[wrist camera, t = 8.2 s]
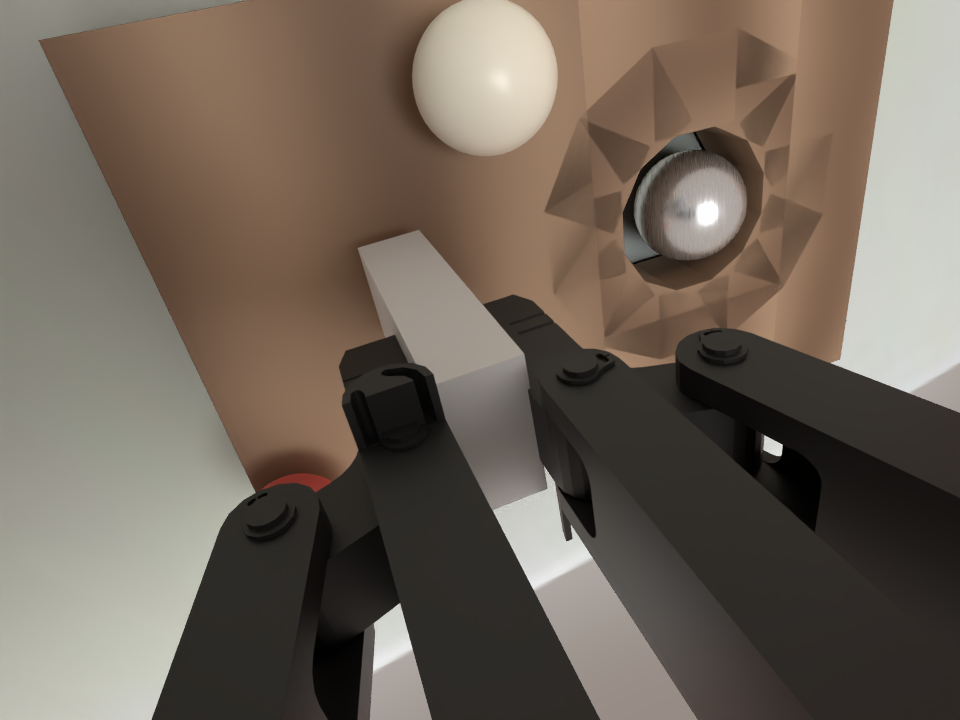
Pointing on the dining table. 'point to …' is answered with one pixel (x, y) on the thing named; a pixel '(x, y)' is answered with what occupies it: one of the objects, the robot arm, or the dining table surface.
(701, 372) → the robot arm
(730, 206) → the steel ball
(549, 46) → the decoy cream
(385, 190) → the board
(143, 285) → the dining table surface
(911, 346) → the dining table surface
